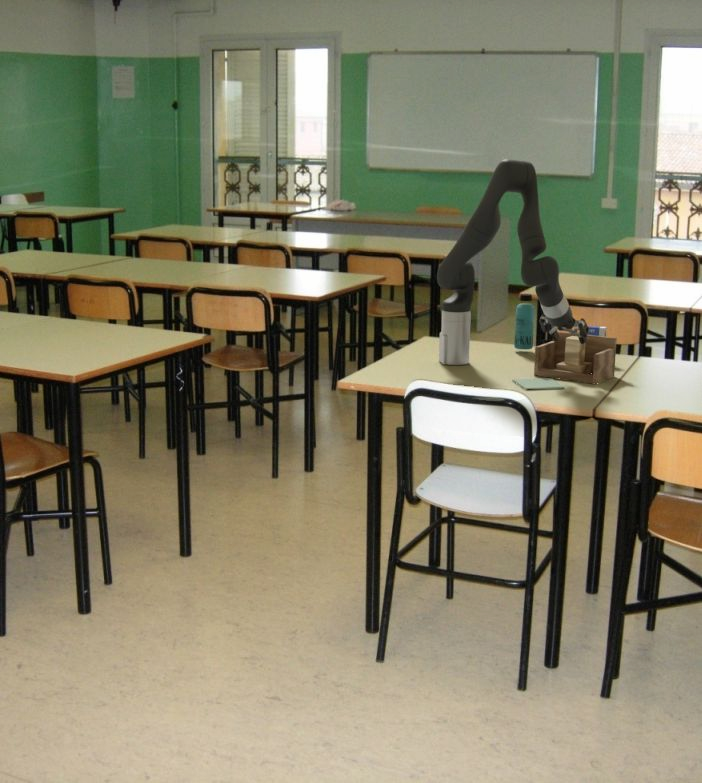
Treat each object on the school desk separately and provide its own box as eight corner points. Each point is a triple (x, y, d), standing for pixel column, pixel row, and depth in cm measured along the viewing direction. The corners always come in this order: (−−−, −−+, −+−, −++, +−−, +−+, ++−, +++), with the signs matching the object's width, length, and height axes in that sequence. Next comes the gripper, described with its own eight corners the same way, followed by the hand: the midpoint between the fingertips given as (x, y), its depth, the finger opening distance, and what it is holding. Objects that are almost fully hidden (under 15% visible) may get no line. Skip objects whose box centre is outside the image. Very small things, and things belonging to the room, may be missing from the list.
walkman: (579, 361, 350) (581, 325, 348) (580, 360, 353) (582, 324, 350) (603, 363, 348) (605, 327, 345) (604, 362, 350) (607, 325, 348)
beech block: (578, 365, 325) (579, 339, 323) (564, 363, 328) (565, 338, 326) (584, 363, 329) (585, 337, 327) (570, 361, 331) (571, 335, 329)
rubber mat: (525, 390, 310) (525, 388, 310) (512, 381, 322) (512, 379, 322) (564, 388, 312) (564, 386, 312) (550, 379, 324) (550, 377, 324)
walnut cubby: (596, 384, 318) (598, 344, 315) (533, 375, 329) (535, 337, 327) (614, 376, 329) (616, 338, 326) (553, 368, 340) (554, 330, 338)
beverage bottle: (516, 349, 370) (519, 292, 366) (535, 351, 367) (538, 293, 363) (511, 352, 364) (513, 294, 360) (530, 354, 362) (532, 295, 357)
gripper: (582, 299, 309) (596, 333, 320) (537, 295, 317) (552, 328, 329) (574, 320, 306) (588, 353, 317) (529, 315, 314) (544, 347, 326)
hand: (570, 340), depth 323 cm, fingers open, 8 cm apart
